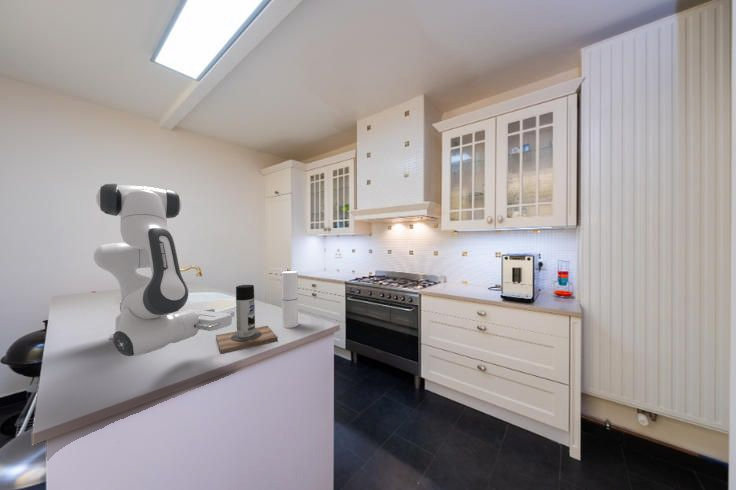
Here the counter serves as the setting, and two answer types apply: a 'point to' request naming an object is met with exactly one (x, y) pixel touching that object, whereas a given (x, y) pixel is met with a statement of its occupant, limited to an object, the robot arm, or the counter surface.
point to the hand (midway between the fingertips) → (222, 312)
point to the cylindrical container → (289, 299)
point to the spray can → (245, 311)
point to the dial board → (245, 339)
